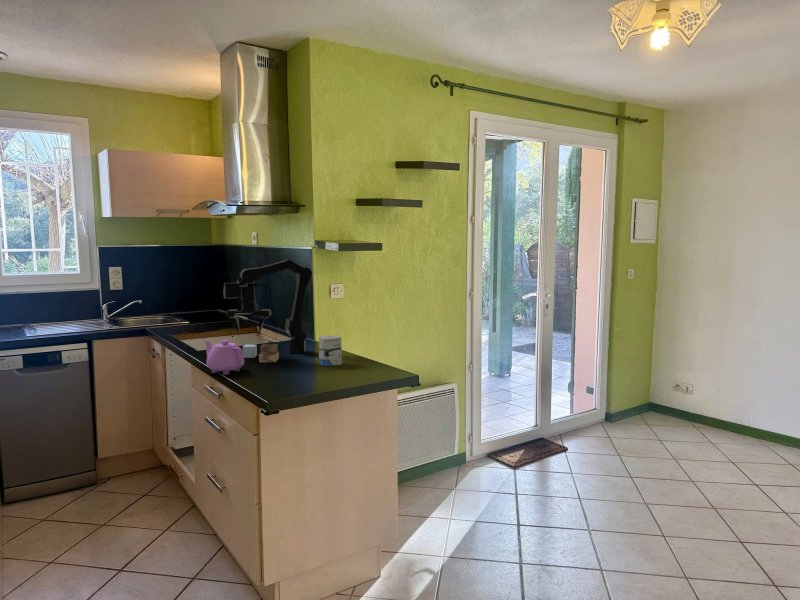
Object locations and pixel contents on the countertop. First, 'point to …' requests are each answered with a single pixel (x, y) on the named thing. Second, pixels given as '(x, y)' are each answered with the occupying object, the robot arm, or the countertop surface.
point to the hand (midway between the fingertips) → (249, 332)
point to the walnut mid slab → (269, 349)
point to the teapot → (224, 357)
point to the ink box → (330, 350)
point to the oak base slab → (269, 358)
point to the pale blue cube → (249, 351)
